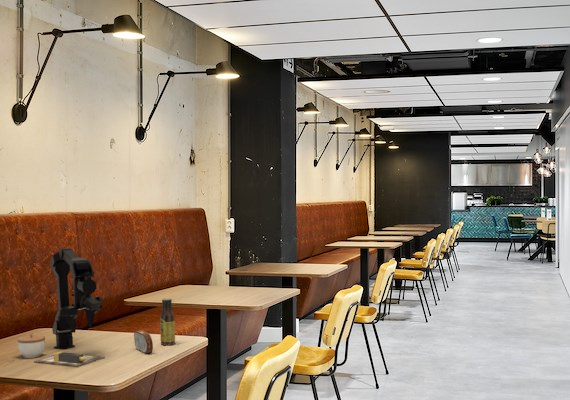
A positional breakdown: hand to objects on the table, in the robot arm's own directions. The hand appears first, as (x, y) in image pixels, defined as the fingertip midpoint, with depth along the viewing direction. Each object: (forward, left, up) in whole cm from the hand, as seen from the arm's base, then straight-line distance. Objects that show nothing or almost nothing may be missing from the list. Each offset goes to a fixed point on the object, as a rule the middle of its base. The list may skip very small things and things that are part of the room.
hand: (82, 329), depth 301 cm
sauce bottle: (+19, +32, -12) cm, 39 cm away
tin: (+17, +17, -12) cm, 27 cm away
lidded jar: (-22, -6, -12) cm, 25 cm away
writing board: (-2, -6, -12) cm, 13 cm away
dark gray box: (+1, -10, -11) cm, 15 cm away
